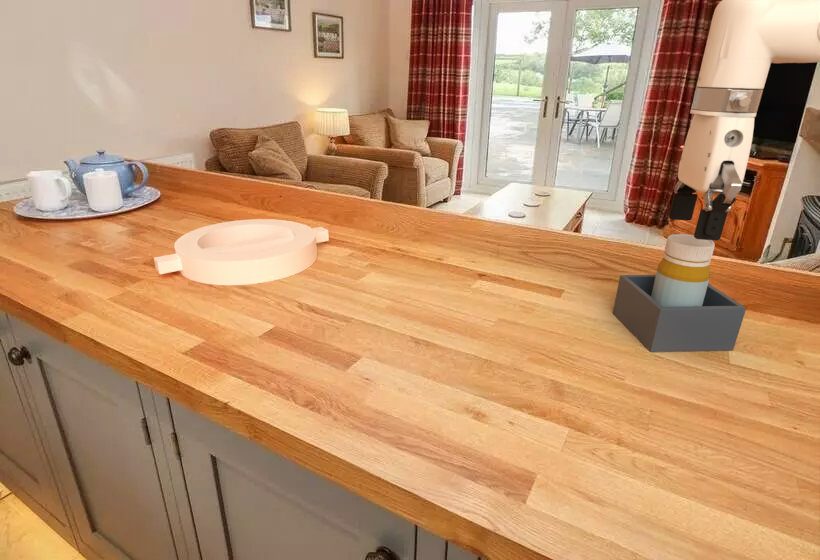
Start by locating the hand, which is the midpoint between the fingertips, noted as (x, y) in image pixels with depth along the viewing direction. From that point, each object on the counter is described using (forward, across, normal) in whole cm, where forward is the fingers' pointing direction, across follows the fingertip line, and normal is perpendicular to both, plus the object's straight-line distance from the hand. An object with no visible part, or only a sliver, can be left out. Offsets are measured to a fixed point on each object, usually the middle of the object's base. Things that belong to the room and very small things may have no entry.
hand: (692, 228), depth 71 cm
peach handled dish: (+18, +19, +78) cm, 82 cm away
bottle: (+17, 0, 0) cm, 17 cm away
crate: (+17, 0, 0) cm, 17 cm away
